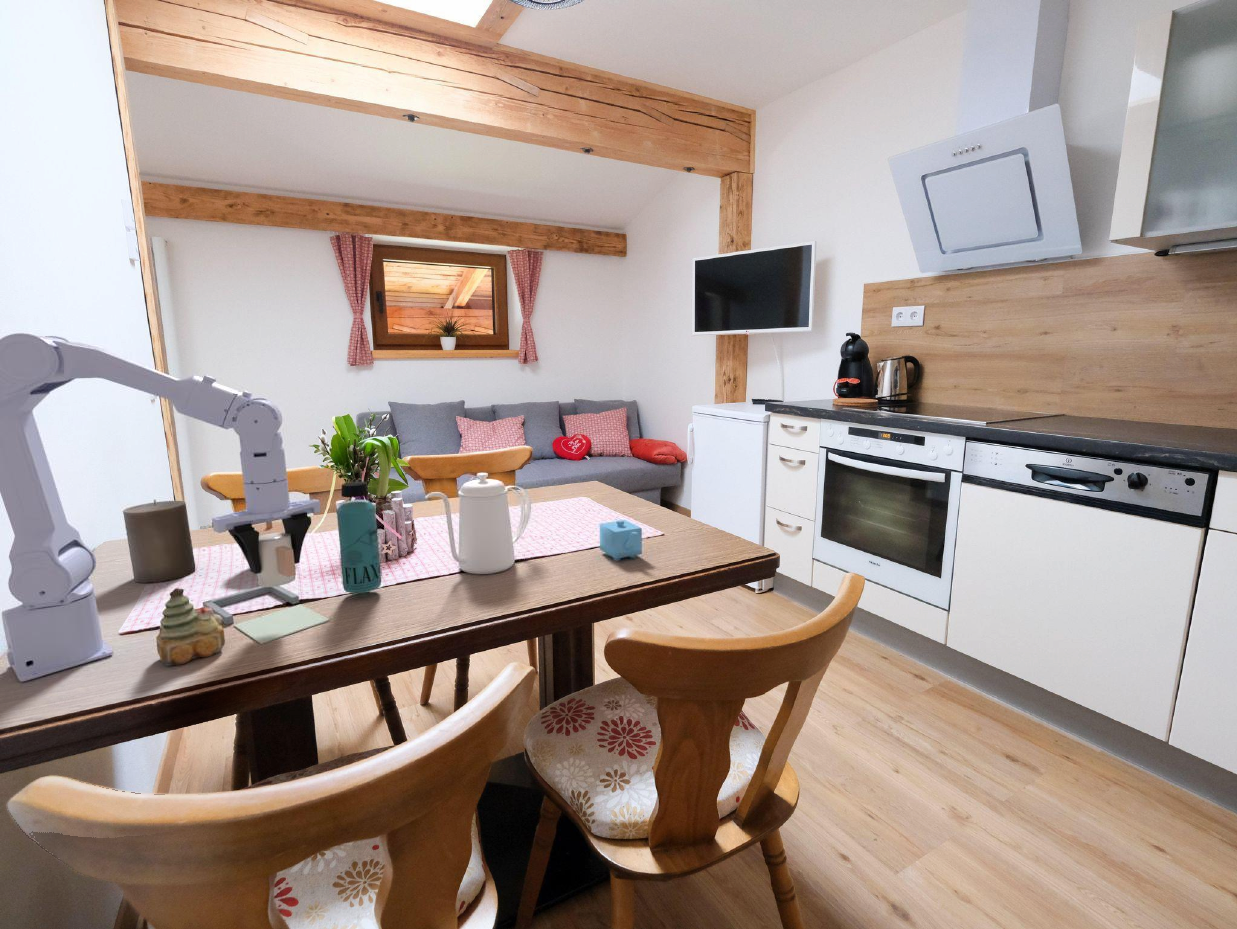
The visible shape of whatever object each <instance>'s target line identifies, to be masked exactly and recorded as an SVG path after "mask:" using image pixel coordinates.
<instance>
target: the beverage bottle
mask: <svg viewBox="0 0 1237 929" xmlns="http://www.w3.org/2000/svg"><path fill="white" fill-rule="evenodd" d="M368 494H369V490H368V486H367V483H366V481H351V482H350V481H348V482H345V483H342V484H341V497H342V498H358V497H363V496H367V495H368ZM376 509H377V508H376V505H375V504H374V503H373V502H371V501H369V499H367V500H366V499H354V500H347V501H345V502H343V503H341V504H340V505H339V507H338V508H336V509H335V510H336V519H337V527H338V528H337V530H338V539H339V549H340V550H339V556H340V561H339V563H340V568H341V569H340V575H341V576H340V577H341V580H342V581H341V584H342V588H343V589H344V591H345V592H346V593H350V594H359V593H360V594H361V593H367V592H370V591H373V590H376V589H377V588H378V589H379V588H380V586H381V584H382V580H383V579H382V578H383V577H382V570H381V565H382V562H381V558H380V557H381V554H380V550H379V549H380V548H379V546H380V545H379V534H378V532H379V527H378V525H379V524H378V522H377V513H376Z"/></svg>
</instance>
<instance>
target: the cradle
mask: <svg viewBox="0 0 1237 929" xmlns="http://www.w3.org/2000/svg"><path fill="white" fill-rule="evenodd" d="M267 592H269V593H271V592H272V593H271V594H273V595H275V596H277V597H279V598H281V599H282V598H283V600H284V599H285V601H286V600H287V601H286V602H288V601H289V602H288V603H290V604H292V605H295V604H299V603H300V596H299V594H296V593H294V592H292V591H291V590H288V589H286V588H284V587H282V586H275V587H261V586H257V587H253V588H250V589H246V590H243V591H239V592H235V593H231V594H229V595H223V596H220V597H218V598H217V597H216V598H212V599H210V600H205V601H202V607H211V608H212V609H213V614H216V615H220V616H221V617H222V624H224V625H226V626H229V625H231V624H234V623H235V622H234V615H233V614H232V613H230V612H228V611H226V610H225V609H224V608H222V607H223V606H227V605H230V604H234V603H237V602H240V601H245V600H248V599H252V598H255V597H258V596H257V595H259V596H262V595H266V594H268V593H267ZM265 593H266V594H265ZM261 594H262V595H261Z"/></svg>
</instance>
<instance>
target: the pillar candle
mask: <svg viewBox="0 0 1237 929" xmlns="http://www.w3.org/2000/svg"><path fill="white" fill-rule="evenodd" d="M186 504H187V503H186V502H185V501H183V500H165V501H164V500H163V501H156V499H153V502H148V503H143V504H138V505H135V506H134V505H133V506H130V507H126V508H125V509H123V510H122V513H123V520H124V527H125V532H126V536H127V537H126V538H127V544H128V550H129V557H130V561H131V562H130V563H131V566H132V574H133V579H134V581H135V582H136V583H139V582H140V583H139V584H147V582H153V583H159V582H164V581H165V582H166V581H172V580H176V579H179V578H180V579H181V578H184V577H186V576H189V575H190V574H192V573H193V572H194V573H195V571H196V562H195V556H194V549H193V542H192V539H191V538H192V537H191V531H190V530H191V529H190V524H189V517H188V510H187V505H186Z"/></svg>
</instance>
